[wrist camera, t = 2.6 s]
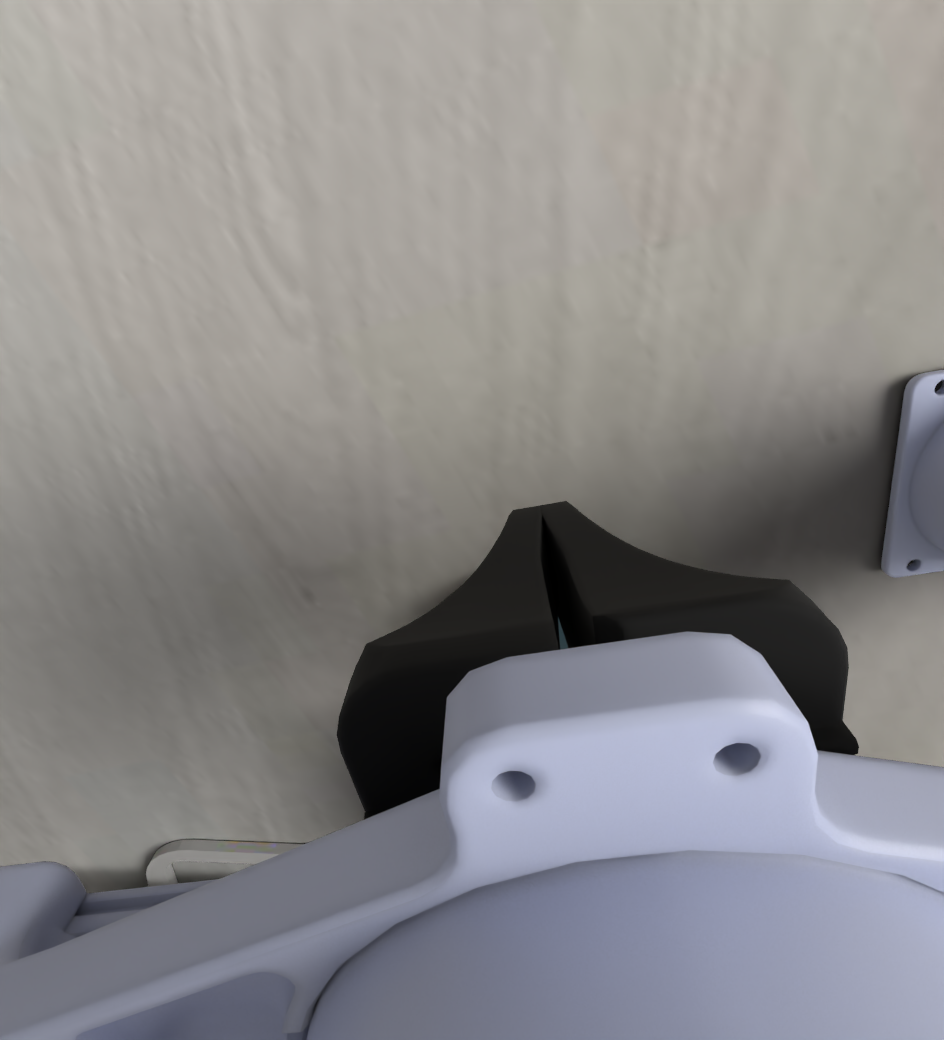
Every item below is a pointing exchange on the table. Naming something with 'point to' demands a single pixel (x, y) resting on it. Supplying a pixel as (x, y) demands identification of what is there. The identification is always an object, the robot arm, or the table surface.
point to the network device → (208, 856)
